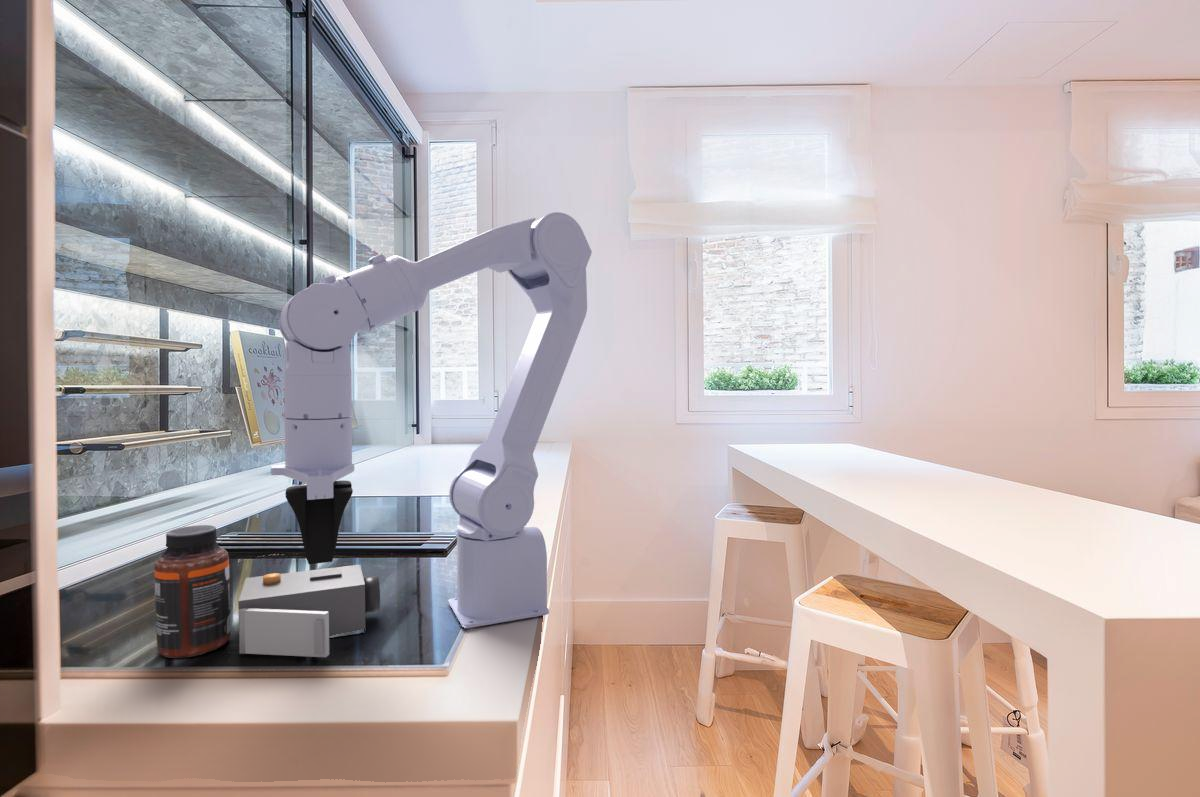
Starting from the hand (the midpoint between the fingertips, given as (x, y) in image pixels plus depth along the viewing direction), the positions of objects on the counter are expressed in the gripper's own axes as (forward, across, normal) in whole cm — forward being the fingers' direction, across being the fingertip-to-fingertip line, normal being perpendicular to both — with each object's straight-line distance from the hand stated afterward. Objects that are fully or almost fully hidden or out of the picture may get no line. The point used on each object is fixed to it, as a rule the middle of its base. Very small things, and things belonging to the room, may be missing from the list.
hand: (320, 561), depth 58 cm
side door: (+8, +1, -3) cm, 9 cm away
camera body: (+8, -5, -1) cm, 10 cm away
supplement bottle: (+9, -5, -11) cm, 15 cm away
